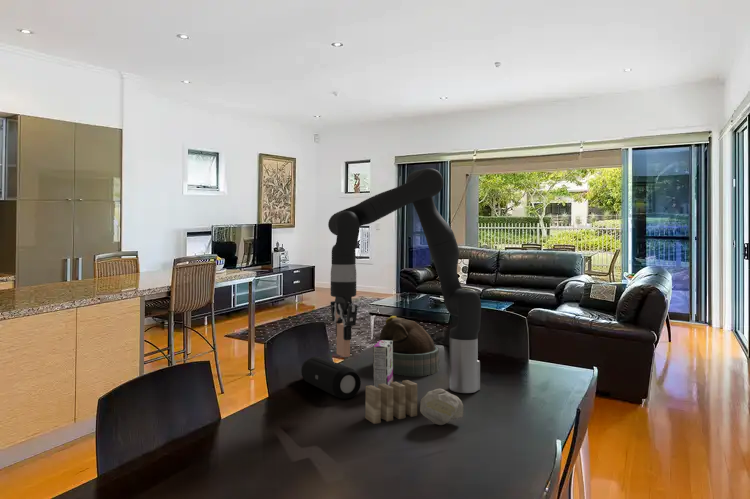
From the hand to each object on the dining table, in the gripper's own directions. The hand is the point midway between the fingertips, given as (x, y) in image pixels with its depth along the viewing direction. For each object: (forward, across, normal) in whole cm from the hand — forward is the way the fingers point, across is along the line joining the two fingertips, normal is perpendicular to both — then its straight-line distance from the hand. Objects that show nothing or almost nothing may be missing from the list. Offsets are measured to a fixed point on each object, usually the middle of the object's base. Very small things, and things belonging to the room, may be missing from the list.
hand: (343, 338), depth 142 cm
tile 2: (+21, -11, -12) cm, 27 cm away
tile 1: (+21, -11, -16) cm, 29 cm away
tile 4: (+21, -11, -4) cm, 24 cm away
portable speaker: (+22, +21, -5) cm, 31 cm away
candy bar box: (+22, +11, -20) cm, 31 cm away
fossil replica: (+22, -23, -18) cm, 37 cm away
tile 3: (+21, -11, -8) cm, 25 cm away
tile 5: (+5, 0, 0) cm, 5 cm away
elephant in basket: (+22, +29, -41) cm, 54 cm away
